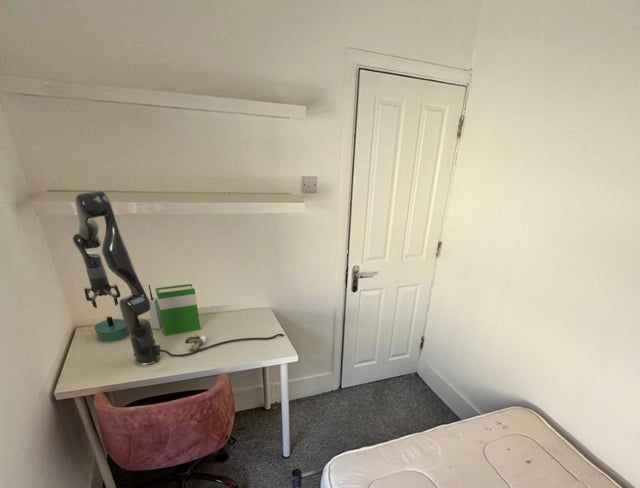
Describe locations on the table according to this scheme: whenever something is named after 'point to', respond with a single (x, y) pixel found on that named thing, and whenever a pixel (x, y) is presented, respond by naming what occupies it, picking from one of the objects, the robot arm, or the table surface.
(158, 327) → the vintage mobile phone
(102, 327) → the lid
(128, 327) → the robot arm
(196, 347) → the eagle figurine
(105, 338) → the tin
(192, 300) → the hardback book
